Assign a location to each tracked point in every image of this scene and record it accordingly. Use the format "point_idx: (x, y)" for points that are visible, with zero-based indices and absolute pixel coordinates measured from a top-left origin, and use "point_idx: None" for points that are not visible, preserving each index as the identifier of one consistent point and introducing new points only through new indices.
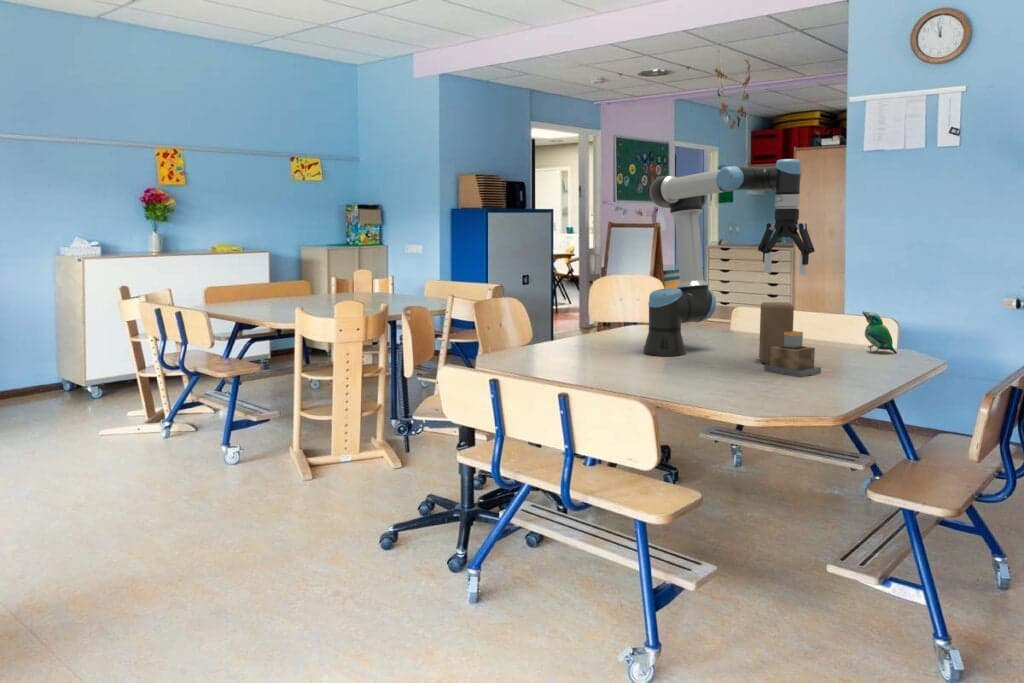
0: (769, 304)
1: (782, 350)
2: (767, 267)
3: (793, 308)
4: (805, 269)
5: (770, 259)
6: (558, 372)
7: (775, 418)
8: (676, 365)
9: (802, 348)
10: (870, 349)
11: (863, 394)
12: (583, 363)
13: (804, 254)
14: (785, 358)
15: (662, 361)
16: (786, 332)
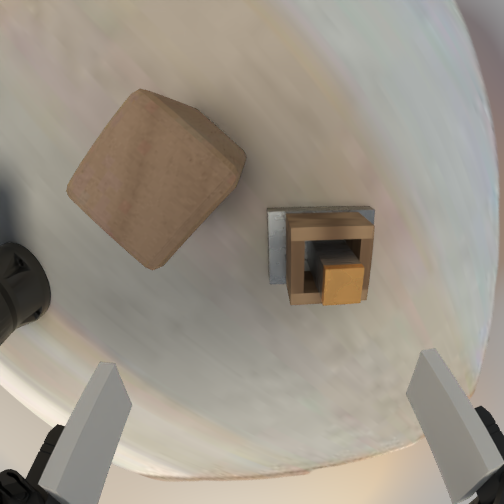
0: (152, 246)
1: None
2: (115, 424)
3: (237, 170)
4: (449, 380)
5: (82, 453)
6: (123, 455)
7: None
8: (130, 355)
9: (359, 260)
10: None
11: (481, 299)
12: None
13: (489, 487)
14: None
15: (88, 343)
16: (330, 304)
